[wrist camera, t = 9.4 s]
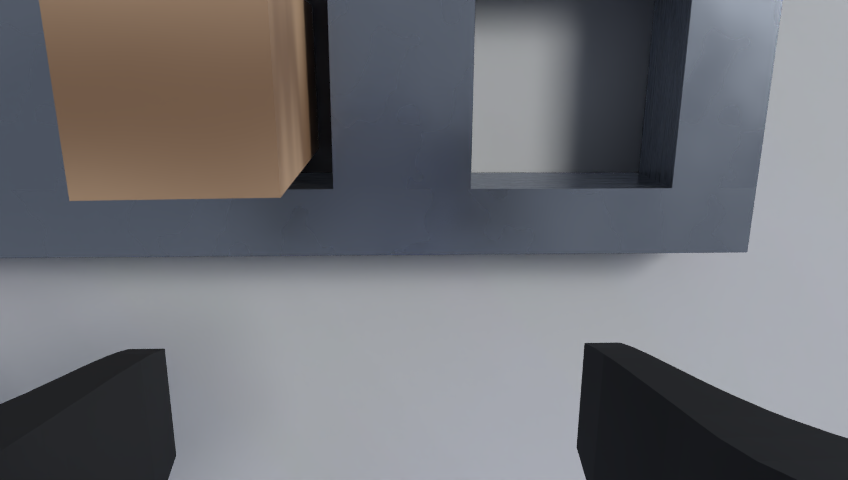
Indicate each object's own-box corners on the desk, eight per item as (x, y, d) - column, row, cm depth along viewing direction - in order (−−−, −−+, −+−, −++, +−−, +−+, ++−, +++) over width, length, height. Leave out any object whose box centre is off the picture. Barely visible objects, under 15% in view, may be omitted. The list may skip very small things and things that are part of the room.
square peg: (319, 148, 20) (280, 197, 13) (181, 150, 19) (69, 200, 13) (312, 4, 19) (266, -24, 12) (166, 5, 18) (34, -24, 12)
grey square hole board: (705, 229, 21) (747, 252, 18) (-229, 234, 20) (-317, 260, 17) (745, -87, 18) (797, -108, 16) (-320, -103, 17) (-436, -129, 15)
